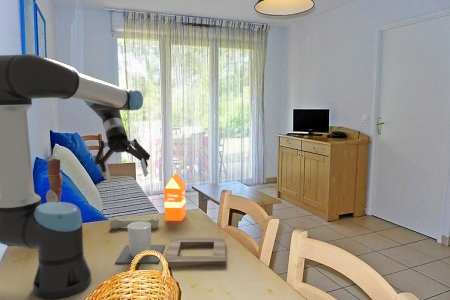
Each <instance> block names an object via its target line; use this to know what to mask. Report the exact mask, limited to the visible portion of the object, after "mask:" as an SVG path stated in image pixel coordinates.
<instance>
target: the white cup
mask: <svg viewBox="0 0 450 300" xmlns="http://www.w3.org/2000/svg"><path fill="white" fill-rule="evenodd" d="M126 228H127V237H128V238H127V239H128V245H129V247H130V254H131V256H133V257H135V256H136V255H137V254H139V253H140V252H142V251H145V250H150V245H152V244H151V243H152V241H151V240H152V228H151V223H149V222H143V221H141V222H134V223H131V224H129V225H128V226H127V227H126Z"/></svg>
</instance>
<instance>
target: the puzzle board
mask: <svg viewBox="0 0 450 300" xmlns="http://www.w3.org/2000/svg"><path fill="white" fill-rule="evenodd" d="M225 238H226V237H224V236H223V237H222V236H221V237H219V236H217V237H212V236H210V237H171V238H170V240H169V242H168V243H169V244H168V246H167V249H166V251H165V254H164V257H165V258H166V259H167V261H168V263H169V267H170V268H172V269H173V268H175V269H176V268H226V267H227V257H226V255H227V253H226V239H225ZM181 248H213V255H180V253H181ZM170 268H169V269H170Z"/></svg>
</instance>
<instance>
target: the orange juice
mask: <svg viewBox="0 0 450 300" xmlns="http://www.w3.org/2000/svg"><path fill="white" fill-rule="evenodd" d="M163 191H164V220H165V221H174V222H176V221H177V222H178V221H179V222H182V221H183V220H184V218H185V217H186V215H187V213H186V211H187V210H186V184H185V183H184V181H183V180H182V179H181V177H180V176H179V174H178V173H177V172H176V173H175V174H174V175H173V176H172V177H171V178H170V179H169V181H168V182H167V184H166V185H165V187H164V188H163Z"/></svg>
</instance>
